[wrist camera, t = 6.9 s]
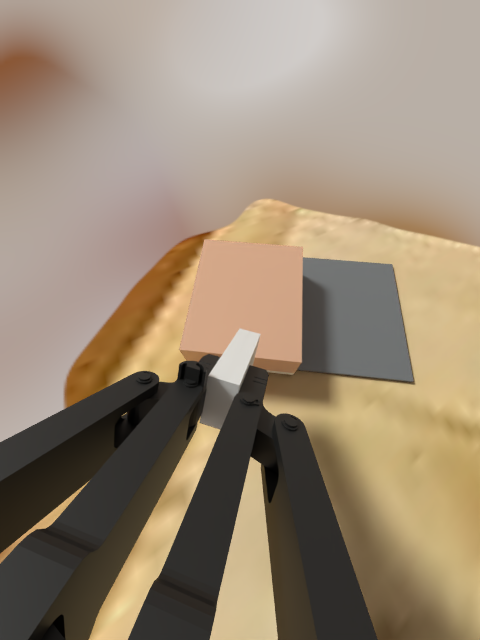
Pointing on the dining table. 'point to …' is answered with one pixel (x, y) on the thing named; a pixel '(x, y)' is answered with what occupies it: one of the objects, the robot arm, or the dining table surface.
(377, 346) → the mat
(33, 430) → the robot arm
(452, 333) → the dining table surface
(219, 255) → the tan and white box
